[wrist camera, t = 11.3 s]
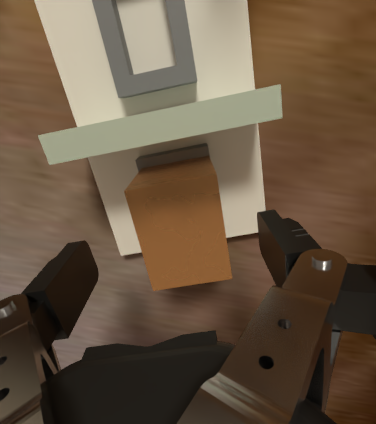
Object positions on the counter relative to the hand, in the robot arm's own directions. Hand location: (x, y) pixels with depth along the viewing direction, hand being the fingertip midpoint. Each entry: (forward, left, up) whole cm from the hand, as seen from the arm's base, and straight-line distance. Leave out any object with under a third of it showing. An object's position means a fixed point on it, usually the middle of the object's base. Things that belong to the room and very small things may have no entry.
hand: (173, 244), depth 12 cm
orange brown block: (0, 0, -8) cm, 8 cm away
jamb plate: (-5, 0, -9) cm, 10 cm away
